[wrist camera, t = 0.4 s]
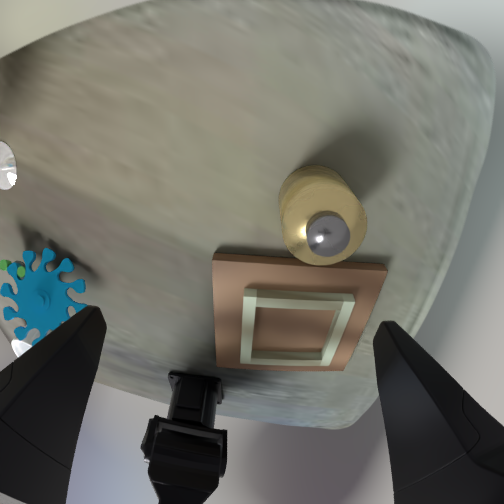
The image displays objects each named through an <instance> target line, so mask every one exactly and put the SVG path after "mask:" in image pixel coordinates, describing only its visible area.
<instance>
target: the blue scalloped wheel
mask: <svg viewBox="0 0 504 504" xmlns="http://www.w3.org/2000/svg"><path fill="white" fill-rule="evenodd" d="M55 258H56V253H55V252H54V251H52V250H50V249H48V248H45V249H44V250H43V253H42V261H41V264H40V266H39V267H38V269H37V270H36V271H35V272H34V271H33V270H32V267H31V266H32V263H33V262H34V260H35V259H36V253H35V252H34V251H23V259H24V262H25V264H24V263H23V262H21V261H15V262H14V263H11V261H9V260H1V261H0V269H1V270H5V271H8V273H9V274H10V275H11V276H12V277H13V278H14V280H15V282H16V284H17V288H18V293H17V294H16V295H15V294H14V292H13V289H12V286H11V285H10V284H9V283H3V285H2V287H1V291H0V294H1V295H2V296H4V297H9V298H11V299H13V300H14V301H15V302H16V303H17V305H18V307H19V310H18V312H16V311H15V310H14V309H13V308H12V307H10V306H9V307H5V308H4V309H3V313H4V318H5V320H11V319H13V318H15V317H19V318H23V319H24V320H25V321H26V323H27V326H26V328H25V327H21V326H20V327H17V328H16V329H15V330H14V333H15V335H16V337H17V338H18V339H19V341H21V340H23V339H25V338H26V336H27V334H28V332H29V331H30V330H31V329H34V328H36V329H38V330H39V332H40V337H39V338H36V339H35V340H33V342H32V346H33V345H35V344H36V343H37V342H39V341H40V340H41V339H43V338H44V337H45V336H46V334H47V332H48V331H49V329H51V330H54V329H56V328H57V327H58V326H60V325H61V322H62V321H67V320H68V319H69V318H70V316H69V313H68V307H69V306H73V307H74V308H75V310H76V313H77V312H79V311H80V310H82V309H83V308H84V307H86V306H88V305H87V304H84V303H83V304H81V303H77V302H75V301H73V300H72V299H71V298H70V297H69V296H68V295H67V290H68V288H70V287H71V288H73V289H74V290H75V291H76V292H77V293H83V292H85V289H86V286H85V280H83V279H78V280H76V281H74V282H72V283H65V282H62V281H61V280H60V279H59V274H60V273H61V272H62V271H64V272H72V271H73V270H74V265H73V263H72V261H71V260H70V259H69V258H65V259H64V260H63V261H62V262H61V264H60V266H59V267H58V268H57V269H56V270H54V271H51V272H48V271H47V270H46V265H47V263H48V262H51V261H53V260H54V259H55Z"/></svg>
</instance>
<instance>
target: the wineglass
mask: <svg viewBox="0 0 504 504" xmlns="http://www.w3.org/2000/svg"><path fill="white" fill-rule="evenodd" d="M16 171H17V169H16V161H15V158H14V155H13V153H12V151H11V149H10V147H9V146H8V145H7V144H6V143H4V142H2V141H0V188H1V189H3V190H7V189H9V188H11V187H12V186H13V184H14V182H15V179H16Z"/></svg>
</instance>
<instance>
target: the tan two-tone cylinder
mask: <svg viewBox="0 0 504 504" xmlns="http://www.w3.org/2000/svg"><path fill="white" fill-rule="evenodd" d="M279 208H280V216H281V225H282V234H283V239H284V242H285V245H286V247H287V248H288V250H289V251H290V252H291V253H292V254H293V255H294V256H295V257H296V258H298V259H299V260H301V261H303V262H305V263H308V264H312V265H330V264H334V263H337V262H340V261H342V260H344V259H346V258H347V257H349V256H350V255H352V254H353V253H354V252H355V251H356V250H357V249H358V247H359V246H360V245H361V243H362V241H363V239H364V237H365V234H366V230H367V217H366V213H365V211H364V208H363V207H362V205H361V203H360V202H359V201H358V199H357V198H356V196H355V195H354V194H353V192H352V191H351V189H350V188H349V187H348V185H347V184H346V183H345V181H344V180H343V179H342V177H341V176H340V175H339V174H338V173H337V172H335V171H334V170H332V169H330V168H327V167H324V166H318V165H312V166H306V167H303V168H300V169H298V170H296V171H295V172H293V173H292V174H291V175H289V176H288V178H287V179H286V180H285V181H284V183H283V185H282V187H281V189H280V193H279Z"/></svg>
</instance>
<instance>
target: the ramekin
mask: <svg viewBox="0 0 504 504" xmlns="http://www.w3.org/2000/svg"><path fill="white" fill-rule="evenodd" d="M26 326H27V325H26ZM26 326H25V328H26ZM50 332H52V330H51V329H49V331H48V332H47V334H46V335H48V334H49V333H50ZM39 337H40V332H39V330H38V329H36V328H34V329H31V330H30V331H29V332H28V334H27V336H26V338H25V339H23V340H21V341H19V339H18V338H17V337H15V338H14V339H13V340H12V347H13V350H14V352H15V353H16V355H17V356H18V357H19V356H21V355H22V354H23V353H24V352H26V351H27V350H28V349H30V348H31V347H32V342H33V340H35V339H36V338H39Z"/></svg>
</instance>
